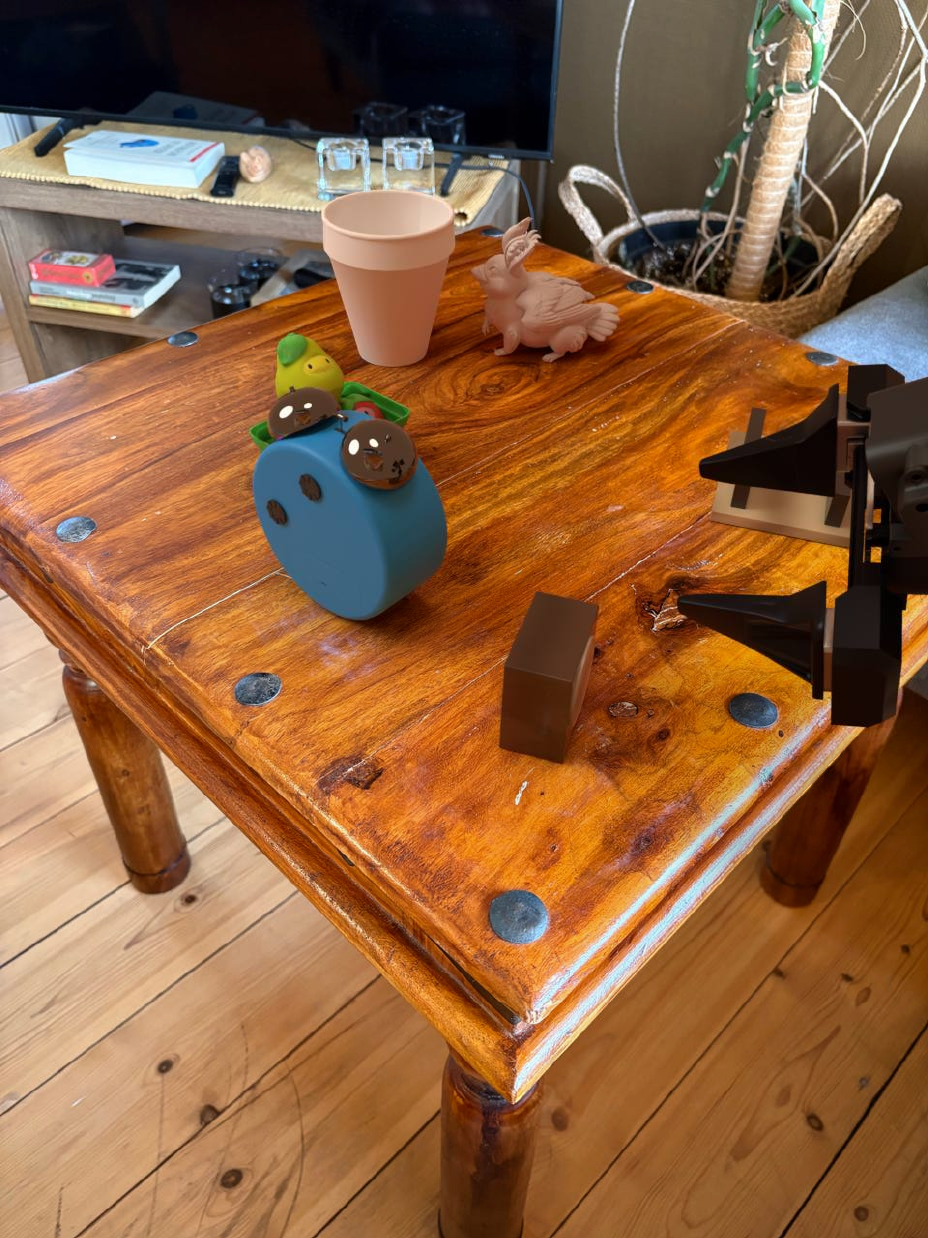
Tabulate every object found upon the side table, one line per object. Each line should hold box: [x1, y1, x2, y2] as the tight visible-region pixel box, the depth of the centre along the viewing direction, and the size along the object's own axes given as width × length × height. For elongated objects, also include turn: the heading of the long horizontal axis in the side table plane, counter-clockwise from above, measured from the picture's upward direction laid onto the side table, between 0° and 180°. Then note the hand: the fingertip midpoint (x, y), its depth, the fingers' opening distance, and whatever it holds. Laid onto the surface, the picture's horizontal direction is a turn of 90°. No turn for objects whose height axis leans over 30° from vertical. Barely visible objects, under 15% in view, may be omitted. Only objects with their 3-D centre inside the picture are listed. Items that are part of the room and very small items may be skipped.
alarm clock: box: [252, 386, 449, 621], centre depth 66 cm, size 13×6×15 cm, turn 49°
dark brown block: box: [498, 590, 600, 764], centre depth 60 cm, size 4×7×7 cm, turn 162°
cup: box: [320, 188, 456, 368], centre depth 95 cm, size 12×12×14 cm
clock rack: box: [709, 406, 852, 549], centre depth 80 cm, size 11×13×4 cm
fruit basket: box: [248, 331, 411, 454], centre depth 79 cm, size 11×9×11 cm
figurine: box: [470, 216, 621, 363], centre depth 96 cm, size 8×15×13 cm, turn 100°
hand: (689, 533), depth 51 cm, fingers open, 9 cm apart
